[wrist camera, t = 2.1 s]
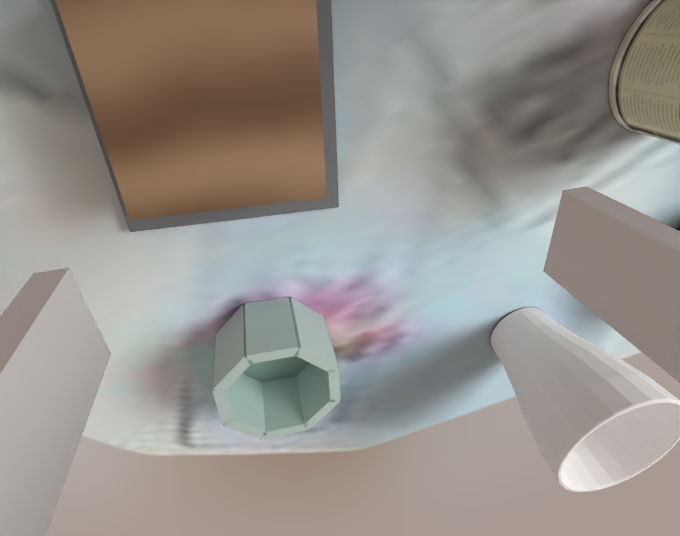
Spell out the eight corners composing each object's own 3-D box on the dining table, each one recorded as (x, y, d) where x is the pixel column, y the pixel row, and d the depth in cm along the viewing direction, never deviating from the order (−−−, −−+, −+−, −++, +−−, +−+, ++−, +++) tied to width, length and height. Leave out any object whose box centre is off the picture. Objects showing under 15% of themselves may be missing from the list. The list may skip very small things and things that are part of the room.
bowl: (208, 308, 32) (204, 363, 27) (322, 291, 33) (337, 339, 28) (229, 388, 37) (228, 446, 32) (327, 369, 38) (341, 423, 33)
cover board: (78, -20, 20) (46, -27, 17) (302, -26, 22) (314, -32, 18) (143, 193, 26) (130, 220, 22) (315, 175, 28) (326, 197, 24)
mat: (26, -84, 19) (20, -87, 18) (325, -85, 21) (327, -87, 21) (132, 228, 27) (130, 232, 27) (336, 203, 30) (338, 207, 29)
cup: (472, 381, 44) (553, 508, 33) (465, 309, 38) (561, 433, 27) (562, 349, 44) (673, 463, 33) (569, 273, 38) (707, 380, 27)
